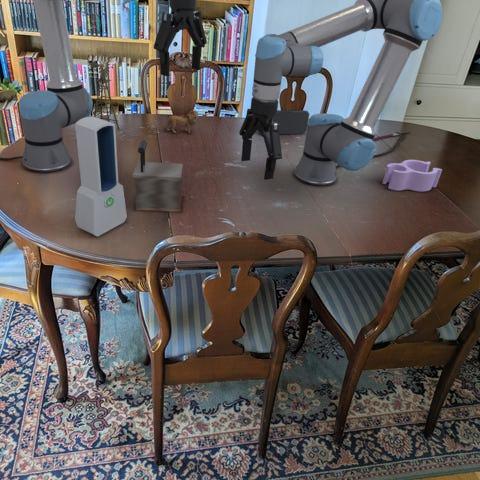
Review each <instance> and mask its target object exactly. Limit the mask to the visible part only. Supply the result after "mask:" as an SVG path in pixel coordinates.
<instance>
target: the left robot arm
mask: <svg viewBox="0 0 480 480" xmlns="http://www.w3.org/2000/svg"><path fill="white" fill-rule="evenodd" d="M32 2H33V3H32V4H33V7H34V8H33V9H34V12H35V17H36V21H37V22H36V23H37V26H38V31H39V36H40V41H41V45H42V49H43V53H44V54H43V55H44V58H45V63H46V69H47V73H48V78H49V80H48V82H47V83H46V85H45V86H46V89H45V90H44V89H43V90H42V89H40V90H37V91H36V90H33V91H30V92H27V93H25V94H23V95H22V96H21V97H20V99H19V102H18V105H19V110H18V111H19V115H20V120H21V126H22V132H23V136H24V148H23V153H22V155H21V156H13V157H0V161H13V160H19V159H22V160H21V161H22V166H23V168H24V169H25V170H27V171H29V172H33V173H39V174H46V173H56V172H61V171H63V170H66V169H67V168H69V167H70V166H71V163H72V159H71V155H70V153H69V151H68V150H67V149H68V148H67V147H66V145H65V143H64V140H63V132H62V129H65V128H67V127H70V126H73V125H75V123H76V122H78V121H79V120H80V119H82V118H85V117H90V116H91V114H92V110H93V107H94V104H93V98H92V95H91V93H90V92H88V89H87V88H86V87H84V85H83V81H81V80H80V79H79V78H78V77H77V73H76V68H75V63H74V56H73V52H72V46H71V40H70V35H69V30H68V25H67V19H66V13H65V7H64V4H63V0H32ZM168 7H169V8H170V13H169V12H165V11H163V12H162V14H161V21H160V25H159V28H158V31H157V34H156V38H155V41H154V44H153V49H154V50H156V51H158V52H159V56H158V57H159V61H158V62H159V64H160V75H161V76H164V77H170V52H169V49H170V47H171V46H172V43H173V41H174V40H175V38H176V35H177V34H178V33H179V32H180V31H183V30H184V31H185V30H186V31H187V34H188V35H189V37H190V39H191V40H192V43H193V44H194V45H192V49H191V69H193V70H196V71H200V69H201V58H202V48H205V46H206V45H207V44H208V40H207V36H206V31H205V29H204V25H203V20H202V12H201V11H199V10H196V9H197V0H168Z"/></svg>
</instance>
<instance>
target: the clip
mask: <svg viewBox="0 0 480 480" xmlns="http://www.w3.org/2000/svg"><path fill="white" fill-rule="evenodd" d="M431 163H432V162H431V161H423V160H418V159H405V160H403V161H402V162H400V163H398V162H397V163H396V162H389V163H388V164H387V165H386V168H385V172H384V176H383V178H382V183H381V184H383V185H387V183H388V186H387V188H388V189H389V190H392V191H404V190H410V191H414V192H429V191H431V190H432V188H437V185H438V183H439V180H440V177H441V176H442V175H441V174H442V172H443V168H439V167H432V169H431V171H429V170H430V166H431Z"/></svg>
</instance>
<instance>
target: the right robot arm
mask: <svg viewBox="0 0 480 480" xmlns="http://www.w3.org/2000/svg"><path fill="white" fill-rule="evenodd" d="M442 9H443V5H442V2H441V0H356V1H355V2H354V4H353V5H349V6H348V7H346V8H343V9H340V10H338V11H336V12H333V13H330V14H328V15H325V16H322V17H321V18H318V19H315V20H313V21H311V22H308V23H305V24H303V25H300V26H299V27H296V28H293V29H291V30H288V31H285V32H283V33H280V34H276V33H267V34H265V35H263V36H262V37H260V38H259V39H258V40H257V43H256V44H257V45H256V49H255V55H254V57H255V59H254V69H253V83H252V87H251V88H252V89H251V90H252V91H251V96H252V97H251V99H250V107H249V108H247V110H246V115H245V118H244V120H243V122H242V125H241V127H240V129H239V133H238V135H239V136H241V139H242V146H241V147H242V148H241V149H242V150H241V159H240V161H241V162H249V161H251V155H252V144H253V140H252V139H253V136H254V135H255V133H256V132H258V131H259V132H260V133H261V134H260V133H259V132H258V133H259V134H260V135H261V137H263V140H264V144H265V148H266V149H265V150H266V152H267V156H268V157H266V160H265V168H264V175H263V180H265V181H267V180H274V176H275V170H276V165H277V160H282V159H283V152H282V145H281V144H282V143H281V134H279V126H280V124H279V123H274V122H273V116H274V115H275V114H276V113H277V110H278V108H279V99H280V95H281V88H282V87H281V86H282V80H283V77H293V76H294V77H295V76H298V77H299V76H300V77H301V76H306V77H309V76H314V75H317V74H318V73H320V72H321V70H322V69H323V65H324V54H323V51H322V49H321V47H323V46H327V45H329V44H330V43H333V42H336V41H339V40H341V39H343V38H345V37H348V36H351V35H352V34H356V33H357V32H363V33H365V32H366V33H367V32H370V31H371V30H383V33H382V35H383V39H384V41H383V44H382V46H381V48H380V51H379V53H378V55H377V57H376V59H375V61H374V63H373V66H372V68H371V69H370V72H369V74H368V75H367V78H366V80H365V82H364V84H363V87H362V88H361V91H360V93H359V95H358V97H357V99H356V101H355V103H354V105H353V107H352V110H351V112H350V114H349V116H347V117H346V118H344V116H342V115H339V114H335V113H315V114H312V115H311V116H309V119H308V124H307V131H306V132H305V133H306V134H305V140H304V146H303V152H302V156H301V157H300V160H299V162H298V164H297V165H296V166H295V169H294V177H295V178H296V179H297V180H298V181H299V182H302V183H304V184H307V185H310V186H316V187H327V186H331V185H333V184H335V183H336V181H337V177H338V174H337V168H343V169H345V170H346V171H350V172H356V171H359V170H361V169H363V168H365V167H366V166H367V165H368V164H369V163H370V162H371V161H372V160H373V158H376V157H381V156H384V155H387V154H389V153H391V152H392V151H394V150H395V149H397V147H398V146H399V145H400V143H401V141H402V140H403V138H405V137H406V133H404V134H402V136H401V137H400V138H399V139H398V141H397V143H396V144H395V145H394V146H393V147H392V148H390V149H388V150H386V151H385V152H382V153H378V154H376V144H375V142H374V141H373V139H374V138H376V134H377V133H376V131H375V126H376V125H377V122H378V121H379V118H380V117H381V114H382V112H383V110H384V108H385V106H386V104H387V102H388V100H389V98H390V96H391V95H392V92H393V91H394V88H395V86H396V85H397V82H398V81H399V78H400V76H401V74H402V72H403V70H404V68H405V66H406V64H407V62H408V61H409V58H410V56H411V55H412V53H413V52H415V51H416V50H419V49H420V48H421V46H422V44H423V42H426V41H429V40H431V38H433V37H434V36H435V35H436V34H437V33H438V31H439V29H440V27H441V24H442V20H443V10H442ZM268 131H269V132H268ZM336 164H337V165H336Z"/></svg>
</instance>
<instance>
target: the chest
mask: <svg viewBox="0 0 480 480" xmlns="http://www.w3.org/2000/svg"><path fill="white" fill-rule="evenodd" d="M183 168H184V167H183ZM183 168H182V172H183ZM134 198H135V199H134V201H135V202H134V203H135V204H134V205H135V210H136V211H152V212H153V211H155V212H173V213H174V212H176V213H181V211H182V199H183V178H182V179H181V180H168V179H149V178H134Z"/></svg>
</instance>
